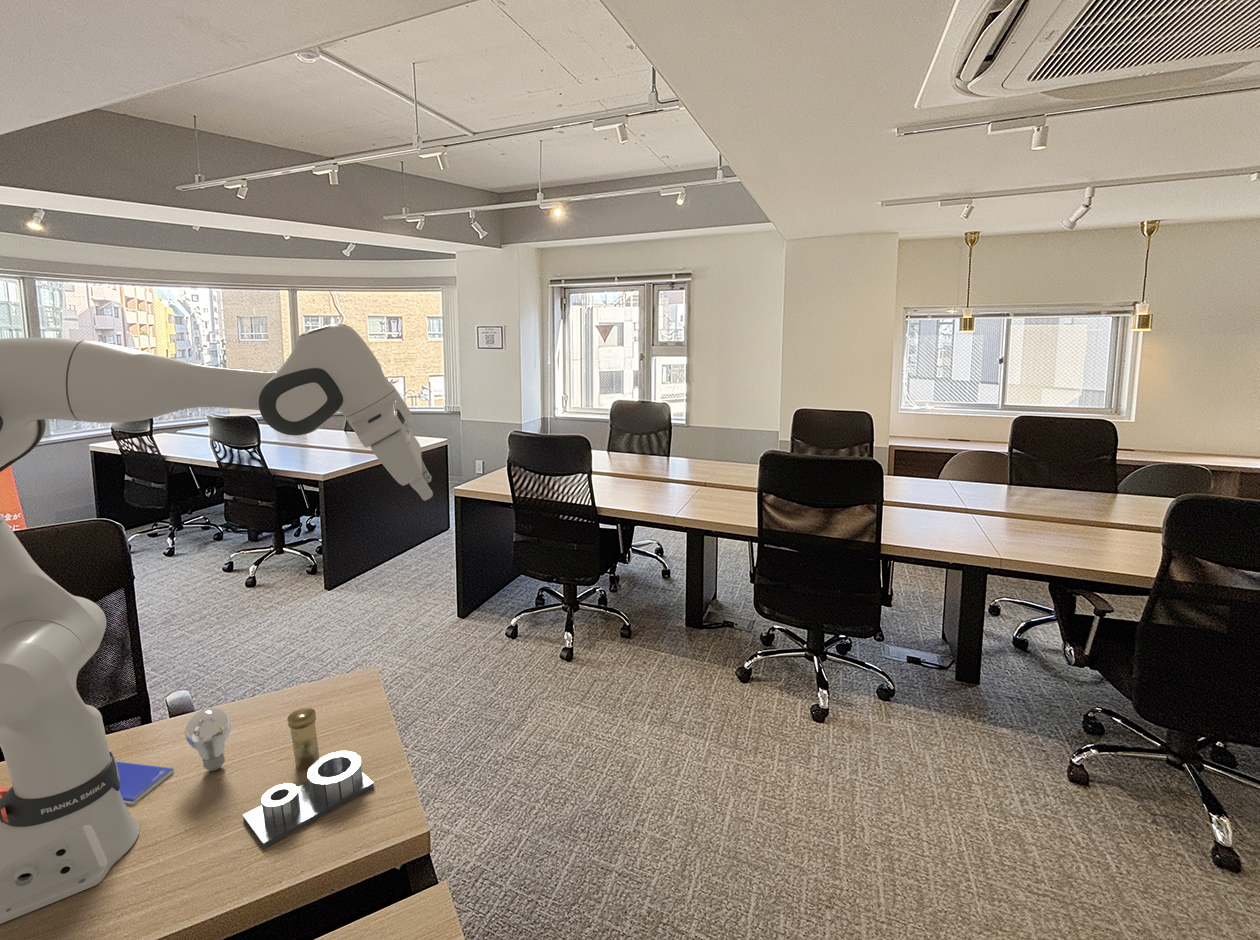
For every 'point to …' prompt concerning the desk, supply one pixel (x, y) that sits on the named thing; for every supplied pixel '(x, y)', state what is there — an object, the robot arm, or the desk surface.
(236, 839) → the desk surface
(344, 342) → the robot arm
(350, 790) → the manifold plate
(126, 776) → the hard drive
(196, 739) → the light bulb
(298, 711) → the brass fitting
